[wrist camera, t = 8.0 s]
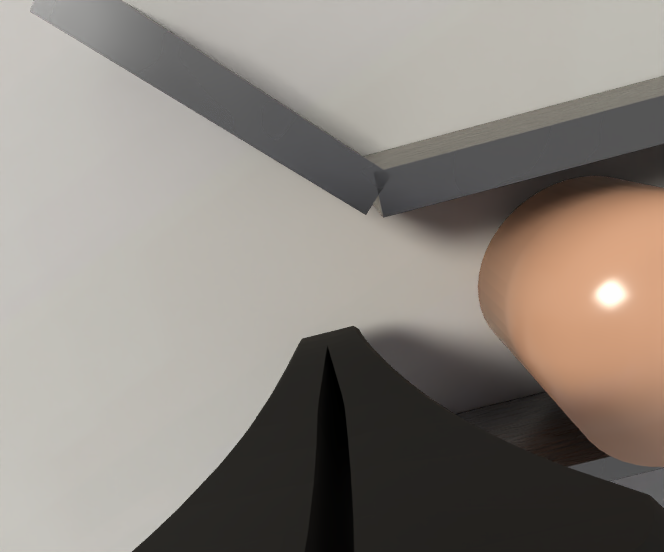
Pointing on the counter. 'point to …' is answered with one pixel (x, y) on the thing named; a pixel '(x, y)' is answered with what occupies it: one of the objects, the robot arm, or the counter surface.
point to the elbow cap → (587, 306)
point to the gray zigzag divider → (394, 166)
